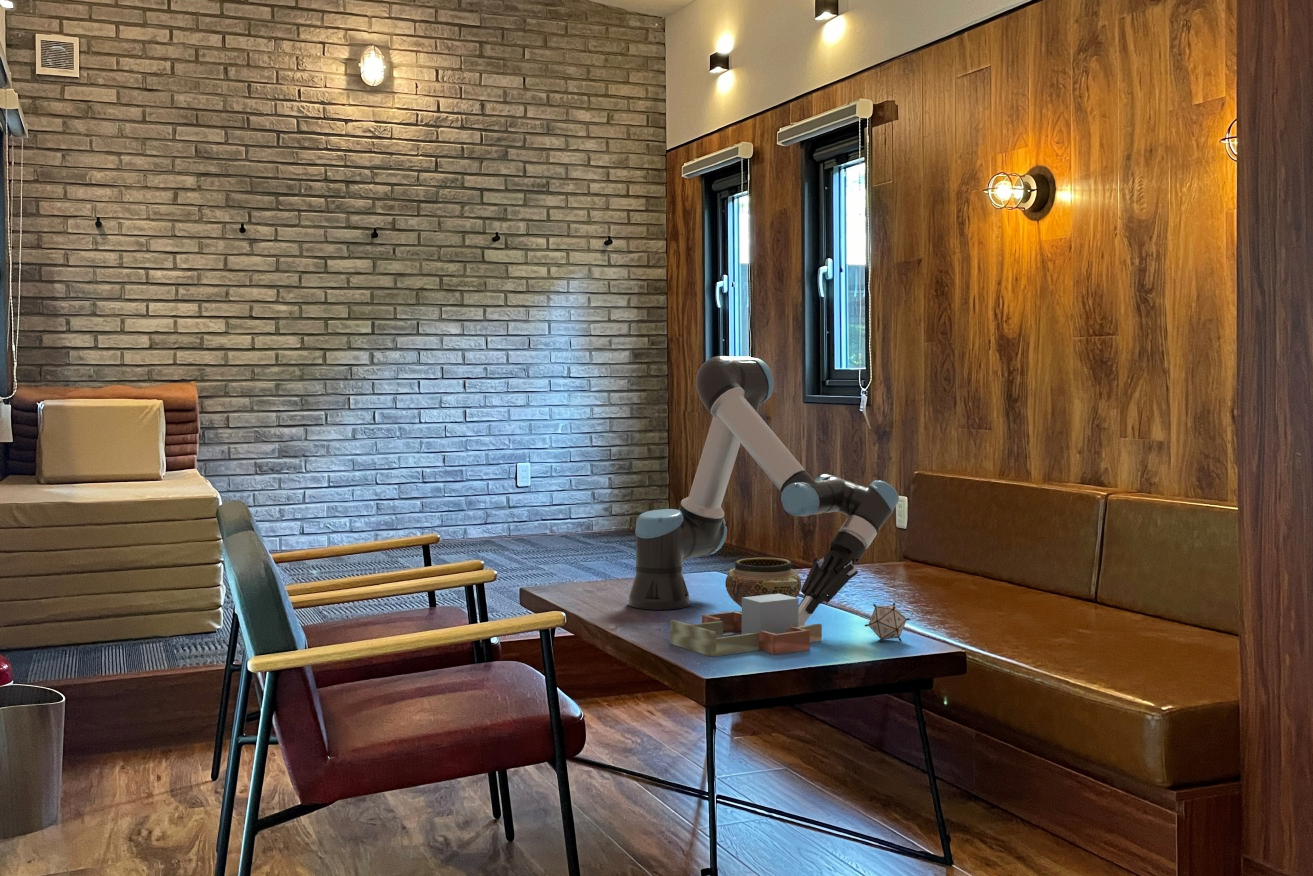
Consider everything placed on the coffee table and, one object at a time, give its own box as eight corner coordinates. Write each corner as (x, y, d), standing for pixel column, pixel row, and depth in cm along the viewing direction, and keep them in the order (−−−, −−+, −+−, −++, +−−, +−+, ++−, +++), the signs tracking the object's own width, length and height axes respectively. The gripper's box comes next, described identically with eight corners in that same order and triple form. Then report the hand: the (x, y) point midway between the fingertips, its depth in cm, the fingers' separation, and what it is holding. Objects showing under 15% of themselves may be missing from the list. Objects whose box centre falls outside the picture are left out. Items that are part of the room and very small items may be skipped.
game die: (894, 659, 261) (909, 627, 255) (857, 643, 262) (871, 611, 256) (902, 632, 268) (917, 600, 262) (866, 617, 269) (880, 585, 263)
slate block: (741, 638, 264) (741, 597, 263) (778, 634, 269) (779, 593, 269) (760, 644, 258) (760, 602, 257) (798, 639, 263) (798, 598, 262)
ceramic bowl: (715, 618, 300) (702, 561, 298) (776, 596, 307) (763, 539, 305) (763, 638, 278) (749, 576, 276) (828, 613, 285) (815, 552, 282)
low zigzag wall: (656, 639, 263) (656, 616, 263) (762, 624, 279) (762, 603, 279) (728, 662, 241) (728, 637, 241) (838, 645, 257) (838, 621, 257)
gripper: (881, 554, 270) (825, 638, 262) (841, 547, 281) (786, 628, 273) (863, 532, 267) (806, 617, 258) (824, 526, 278) (767, 608, 269)
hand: (796, 623), depth 266 cm, fingers closed
